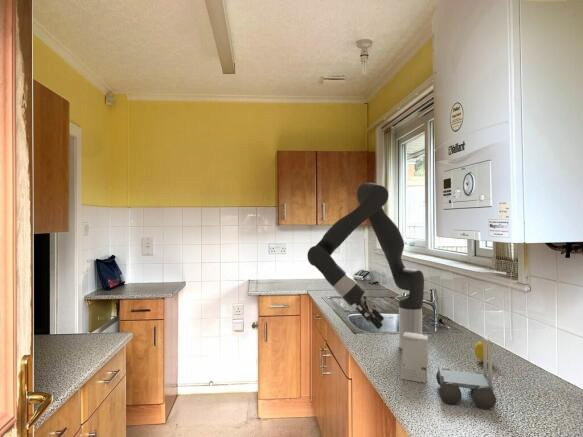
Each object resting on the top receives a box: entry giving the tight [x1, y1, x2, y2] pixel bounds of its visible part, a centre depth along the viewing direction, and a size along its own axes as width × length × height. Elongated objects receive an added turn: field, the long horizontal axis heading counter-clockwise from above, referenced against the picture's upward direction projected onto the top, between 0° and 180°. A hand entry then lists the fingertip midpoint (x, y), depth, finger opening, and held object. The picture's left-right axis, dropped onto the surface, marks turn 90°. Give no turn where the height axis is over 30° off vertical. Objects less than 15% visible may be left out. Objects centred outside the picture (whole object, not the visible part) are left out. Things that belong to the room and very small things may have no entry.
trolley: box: [435, 335, 497, 410], centre depth 114 cm, size 12×15×18 cm
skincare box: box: [400, 332, 429, 384], centre depth 127 cm, size 8×6×15 cm
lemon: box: [474, 340, 488, 363], centre depth 141 cm, size 6×6×8 cm
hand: (381, 323), depth 130 cm, fingers open, 8 cm apart
